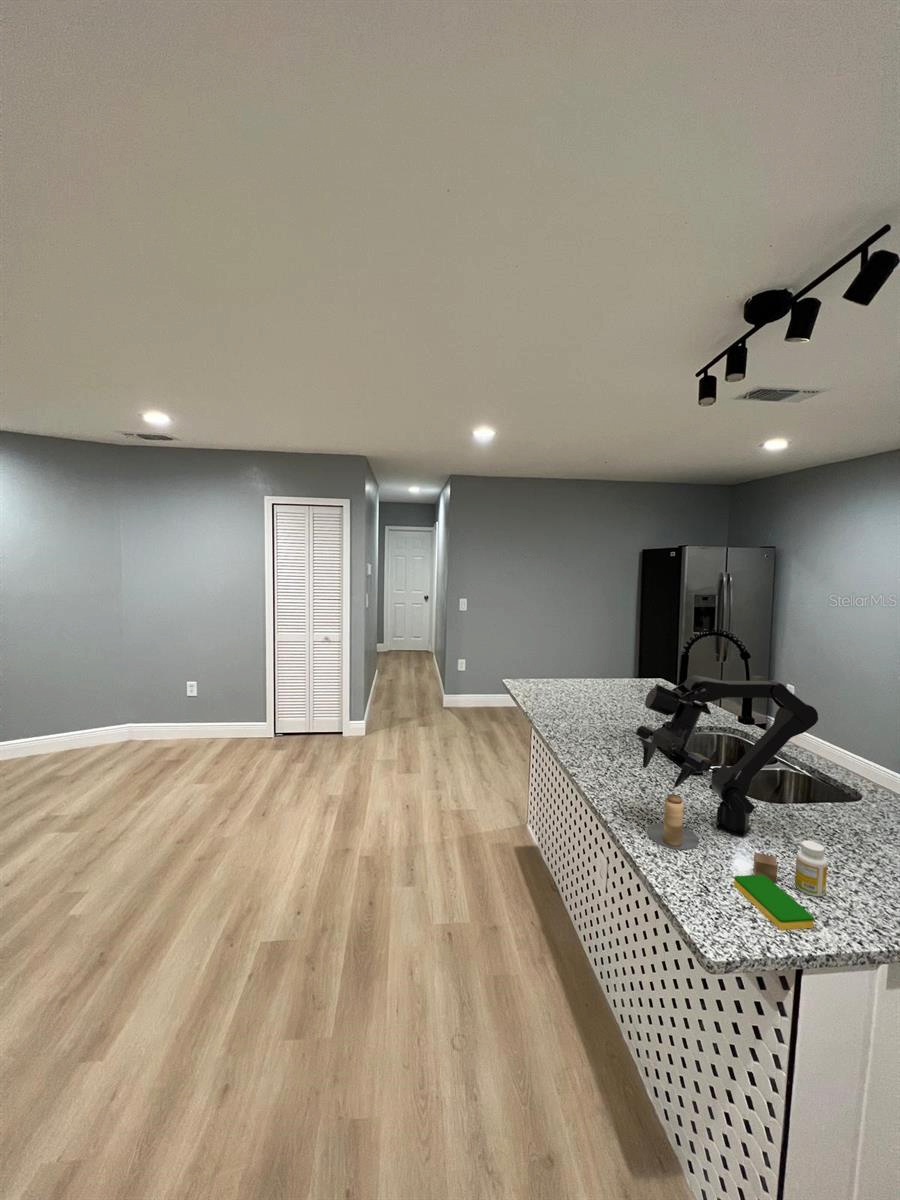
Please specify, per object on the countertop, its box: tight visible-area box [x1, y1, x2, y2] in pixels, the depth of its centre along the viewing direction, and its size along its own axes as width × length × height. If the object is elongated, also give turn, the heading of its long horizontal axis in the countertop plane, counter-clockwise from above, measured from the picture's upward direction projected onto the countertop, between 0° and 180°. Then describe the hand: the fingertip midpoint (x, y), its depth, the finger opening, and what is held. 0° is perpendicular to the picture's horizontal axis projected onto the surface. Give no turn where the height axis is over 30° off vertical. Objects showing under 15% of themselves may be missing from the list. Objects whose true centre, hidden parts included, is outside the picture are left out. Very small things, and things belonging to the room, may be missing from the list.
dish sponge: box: [733, 874, 815, 931], centre depth 105 cm, size 7×14×2 cm, turn 6°
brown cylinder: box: [663, 793, 685, 847], centre depth 127 cm, size 4×4×12 cm
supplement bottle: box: [794, 840, 828, 897], centre depth 110 cm, size 5×5×10 cm
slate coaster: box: [646, 822, 700, 851], centre depth 131 cm, size 12×12×1 cm
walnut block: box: [753, 851, 778, 884], centre depth 115 cm, size 4×4×4 cm
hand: (659, 777), depth 136 cm, fingers open, 9 cm apart
